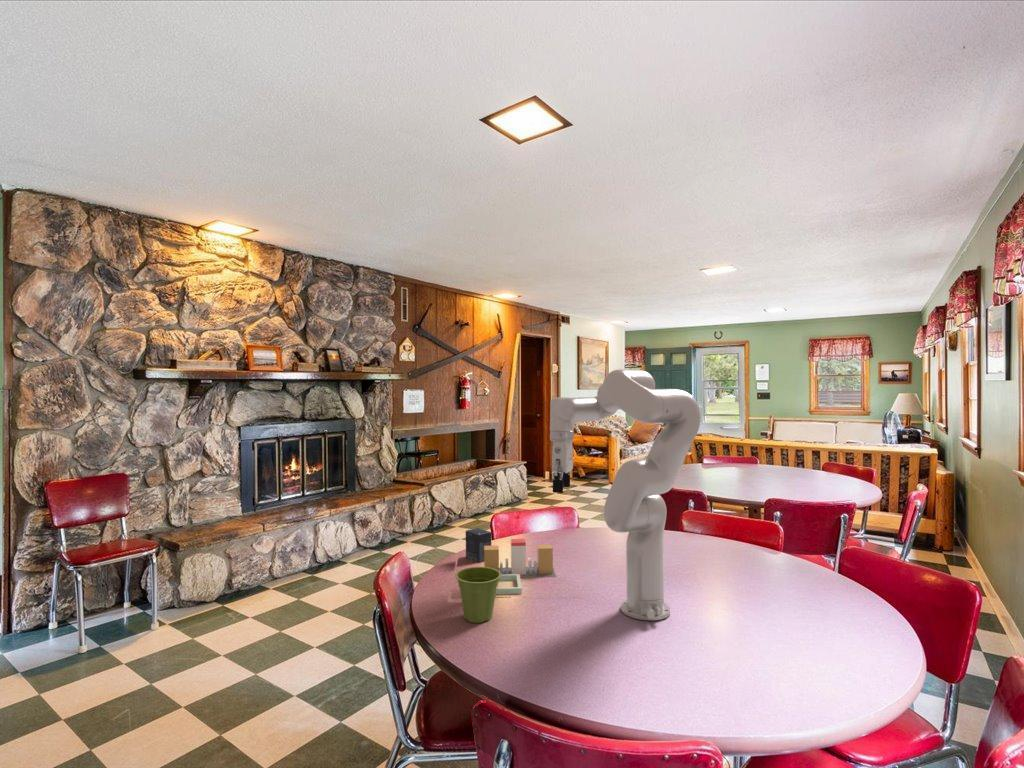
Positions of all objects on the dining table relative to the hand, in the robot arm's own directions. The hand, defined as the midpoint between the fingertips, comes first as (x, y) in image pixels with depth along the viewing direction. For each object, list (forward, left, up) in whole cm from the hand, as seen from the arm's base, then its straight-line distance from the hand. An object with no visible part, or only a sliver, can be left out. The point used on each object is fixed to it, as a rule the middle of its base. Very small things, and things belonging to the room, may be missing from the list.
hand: (561, 489), depth 170 cm
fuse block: (0, +14, -27) cm, 30 cm away
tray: (-12, +20, -27) cm, 36 cm away
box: (+15, +27, -27) cm, 41 cm away
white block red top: (0, +14, -26) cm, 30 cm away
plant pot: (-31, +26, -27) cm, 49 cm away
